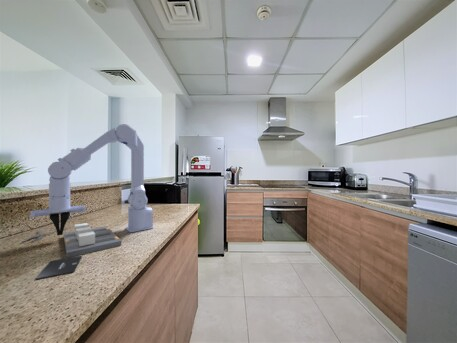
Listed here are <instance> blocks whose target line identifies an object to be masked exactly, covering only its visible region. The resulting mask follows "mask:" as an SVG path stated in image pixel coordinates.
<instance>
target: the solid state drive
mask: <svg viewBox="0 0 457 343" xmlns="http://www.w3.org/2000/svg"><path fill="white" fill-rule="evenodd" d="M82 258H83V257H82V255H77V256H73V257H68V258H67V257H66V258H60V259H59V258H58V259H54V260H51V261H49V262H48V263H47V265H46V266H45V267H44V268H43V269H42V270H41V271H40V272H39V274H38V275H37V277H36V278H35V281H39V280H43V279H48V278H55V277H59V276H64V275H69V274H73V273H75V271H76V270H77V267H78V265H79V263H80V261H81V259H82Z"/></svg>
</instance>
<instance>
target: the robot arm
mask: <svg viewBox="0 0 457 343" xmlns="http://www.w3.org/2000/svg"><path fill="white" fill-rule="evenodd" d="M116 142H119V143H120V144H122V145H123V144H124V145H125V146H126V147H128V148H129V150H131V151H130V154H131V155H130V157H131V158H130V159H131V160H130V161H131V164H130V165H131V167H130V168H131V169H130V170H131V171H130V176H131V177H130V178H131V179H130V180H131V181H130V182H131V184H130V192H129V194H128V197H127V202H128V204H129V206H128V208H127V210H128V211H127V215H128V216H127V226H125V227H124V229H125V230H126V231H127V232H129V233H134V232H140V231H145V230H149V229H154V212H153V208H152V207H151V206H147V204H148V203H149V202H148V200H149V199H148V197H147V195H146V189H145V184H144V181H145V180H144V179H145V174H144V172H145V171H144V170H145V168H144V166H145V164H144V163H145V162H144V161H145V158H144V156H145V152H144V151H145V148H144V147H145V146H144V143H143V141H142V139H141V138H140V136H139V135H138V133H137V131H136V129H134V128H133V127H132V126H131V125H129V124H126V123H122V124H118V126H117V127H114V128H111V129H110V130H108V131H106V132H104V133H103V134H102V135H101V136H99V137H98V138H96V139H95V140H93V141H92V142H90V144H88V145H87V146H85V147H84V148H83V147H77V148H71V150H70V153H67V154H66V155H65V156H63V157H59V158H57V161H54V162H52V163H51V164H50V165H49V166H48V168H47V173H48V175H49V180H48V181H49V183H48V208H43V209H38V210H37V209H36V210H31V211H30V212H29V214H30V218H36V217H44V216H49V219H50V220H51V222H52V223H53V226H54V227H55V231H57V232H56V233H57V236H62V235H63V236H64V230H63V229H64V228H65V226H66V224H67V222H68V220H69V218H70V217H71V213H72V214H73V213H80V212H82V213H83V212H84V213H85V212H86V210H87V209H86V205H78V206H77V205H76V206H71V182H70V177H71V176H70V175H71V174H72V172H73V171H76V170H78V169H80V168H81V167H82V166H84V165H85V164H86V163H88V162H89V161H91V159H92V158H91V157H92V155H93V154H94V153H95V152H97V151H99V150H100V149H101V148H103V147H105V146H106V145H108V144H113V143H116Z"/></svg>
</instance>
